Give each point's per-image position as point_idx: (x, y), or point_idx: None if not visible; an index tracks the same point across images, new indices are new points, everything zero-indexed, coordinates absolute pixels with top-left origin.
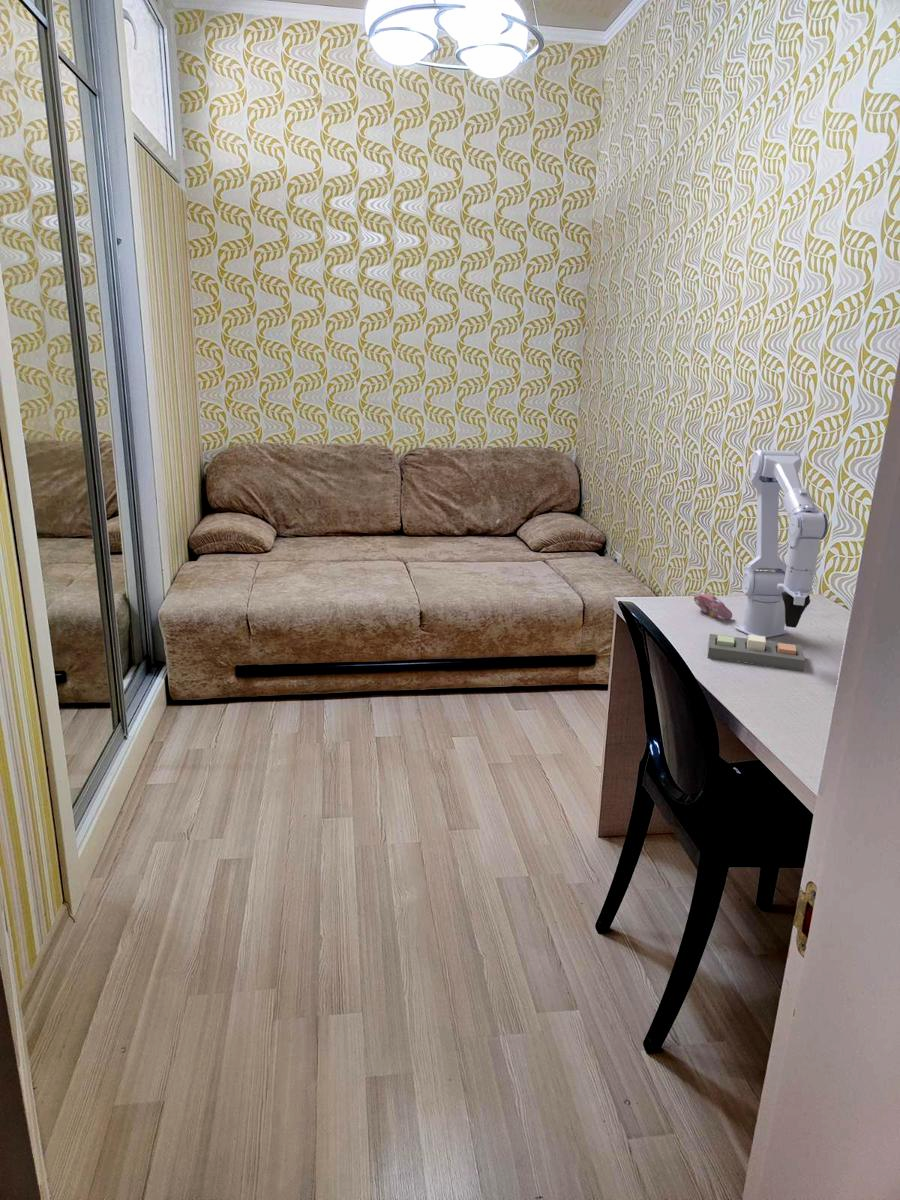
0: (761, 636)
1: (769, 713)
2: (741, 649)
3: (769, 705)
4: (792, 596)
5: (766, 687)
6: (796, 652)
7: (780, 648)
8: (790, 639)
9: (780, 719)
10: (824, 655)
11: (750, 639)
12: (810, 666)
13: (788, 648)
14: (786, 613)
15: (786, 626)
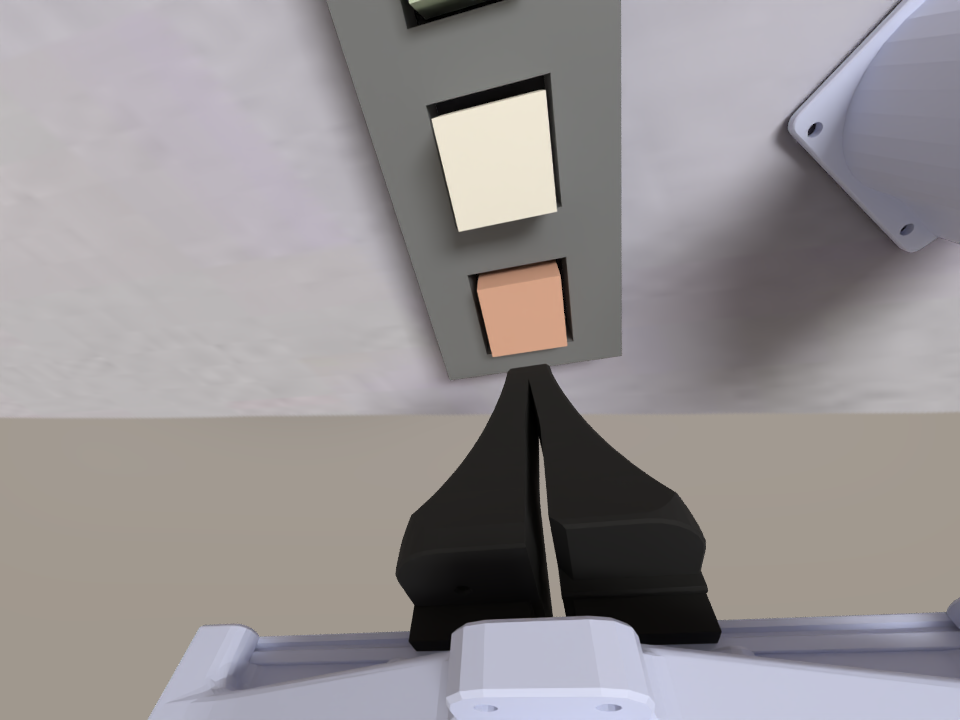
0: (548, 189)
1: (15, 305)
2: (395, 81)
3: (69, 296)
4: (239, 692)
5: (200, 264)
6: None
7: (484, 295)
8: (820, 274)
9: (18, 337)
10: (650, 396)
11: (449, 129)
12: None
13: (506, 326)
14: (482, 432)
15: (508, 371)
